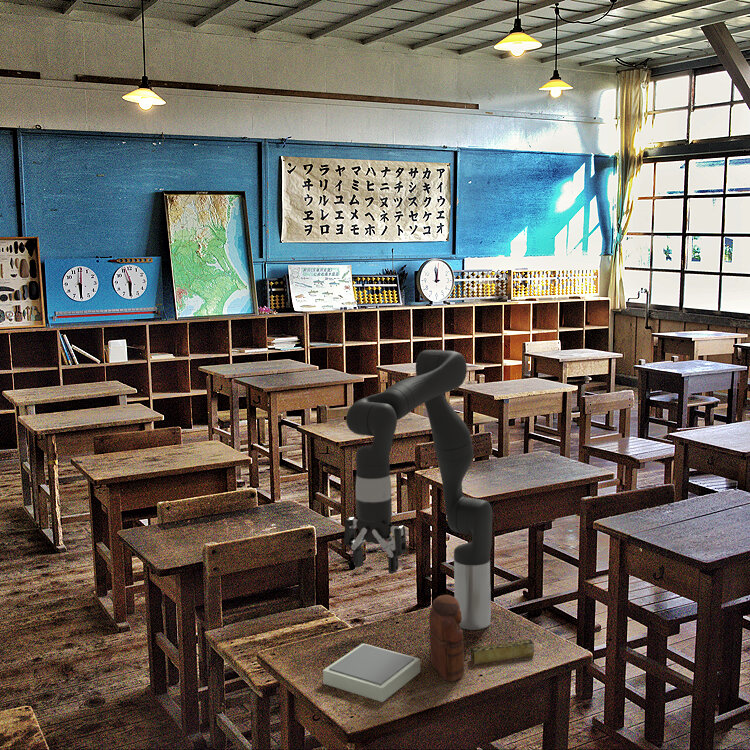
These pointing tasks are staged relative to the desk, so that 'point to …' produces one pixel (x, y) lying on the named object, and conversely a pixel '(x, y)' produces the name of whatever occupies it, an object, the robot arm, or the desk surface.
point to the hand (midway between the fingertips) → (375, 569)
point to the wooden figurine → (446, 637)
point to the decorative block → (502, 651)
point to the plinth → (371, 672)
